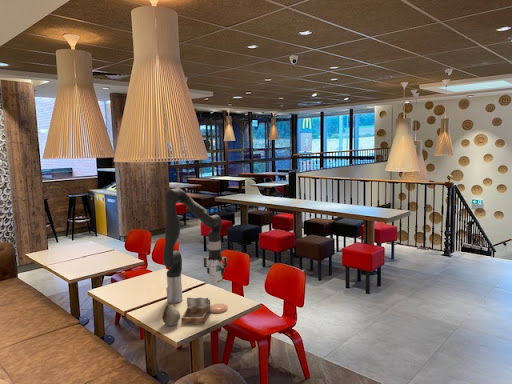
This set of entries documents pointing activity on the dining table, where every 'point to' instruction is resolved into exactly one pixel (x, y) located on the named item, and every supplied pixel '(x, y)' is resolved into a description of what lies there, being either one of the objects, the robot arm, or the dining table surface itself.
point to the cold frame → (196, 310)
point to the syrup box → (215, 272)
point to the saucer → (218, 308)
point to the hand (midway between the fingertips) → (215, 273)
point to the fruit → (170, 315)
